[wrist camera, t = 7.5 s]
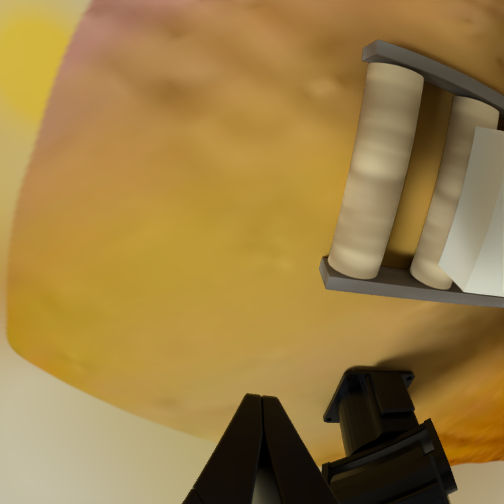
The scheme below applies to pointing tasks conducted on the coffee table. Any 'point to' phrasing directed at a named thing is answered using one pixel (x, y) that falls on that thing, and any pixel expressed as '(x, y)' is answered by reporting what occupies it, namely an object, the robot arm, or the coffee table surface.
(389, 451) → the robot arm
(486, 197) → the slab
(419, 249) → the roller bed
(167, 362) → the coffee table surface
